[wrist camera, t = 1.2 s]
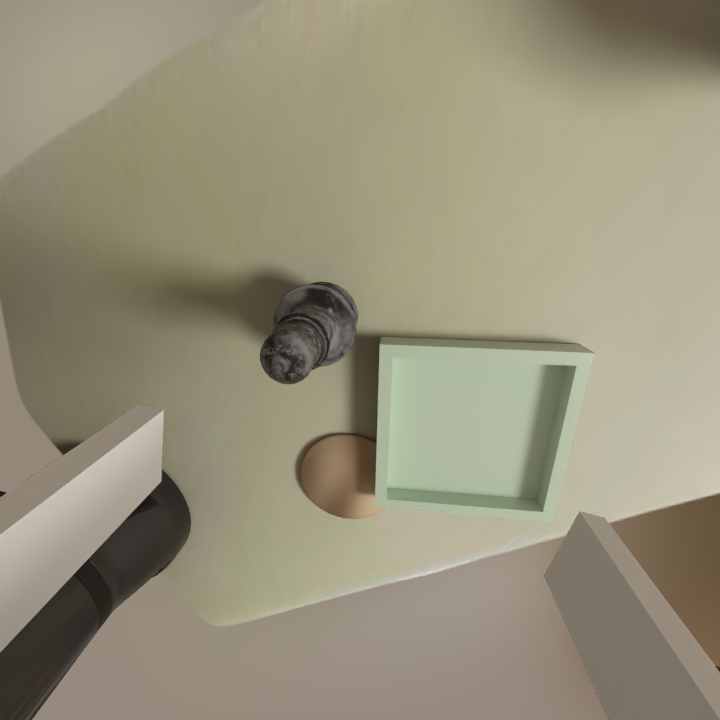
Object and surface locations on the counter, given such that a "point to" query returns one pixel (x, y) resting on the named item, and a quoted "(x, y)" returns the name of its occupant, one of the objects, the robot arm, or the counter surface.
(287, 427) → the counter surface
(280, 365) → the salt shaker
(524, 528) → the counter surface
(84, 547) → the robot arm
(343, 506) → the cork coaster
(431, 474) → the tray
